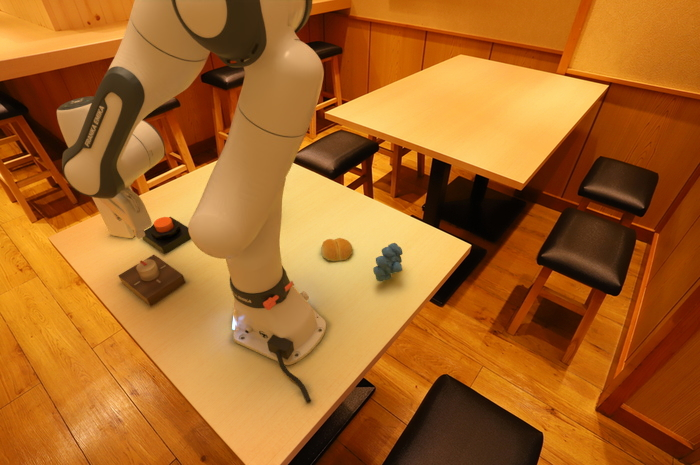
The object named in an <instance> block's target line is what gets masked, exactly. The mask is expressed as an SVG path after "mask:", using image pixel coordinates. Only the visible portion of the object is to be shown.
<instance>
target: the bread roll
mask: <svg viewBox="0 0 700 465" xmlns="http://www.w3.org/2000/svg"><path fill="white" fill-rule="evenodd" d="M352 245H353V244H352V243H351V242H350V241H349V240H348V239H345V238H341V237H338V238H337V237H336V238H334V239H333V238H328V239H325V240H324V241H323V242H322V244H321V248H320V251H321V257H322V258H323V259H325V260H328V261H330V262H336V261H346V260H348V259H349V258H350V256H351V255H352V253H353V246H352Z"/></svg>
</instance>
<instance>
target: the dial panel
mask: <svg viewBox="0 0 700 465" xmlns="http://www.w3.org/2000/svg"><path fill="white" fill-rule="evenodd" d="M148 259H151V260H154V261H155V263H156V265H157V267H158V270H159V272H160V274H159V276H158V277H157V278H156V279H154V280H152V281H143V280H142V279H141V277H140V275H139V273H138V271H137V269H136V267H137V265H138V264H139V263H140V262H138V263H137V264H135V265H133V266H132V267H129V268H128V269H126V270H125V271H123V272H122V273H120V274H118V275H117V277H118V278H119V280H120V282H121V283H122V285H124V286H125V287H126V288H128V290H129V291H130V292H132V293H133V294H134V295H136V296H137V297H138V298H139V299H140V300H142V301H143V302H144V303H146V304H147V305H148V306H149V307H150V308H151V307H153V306H154V305H156V304H157V303H158V302H160V301H161V300H163V299H165V297H168V296H169V295H170V294H171V293H173V292H175V291H176V290H178V289H179V288H181V287H182V286H184V285H185V284H186V280H185V278H184V275H183V273H181V272H179V270H176V269H175V268H174V267H172V266H171V265H169V264H168V263H167V262H166V261H163V259H161V258H160V257H158V256H157V255H156V254H152V255H150V256H149V257H146V258H145V259H144V260H148Z"/></svg>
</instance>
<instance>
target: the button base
mask: <svg viewBox="0 0 700 465" xmlns="http://www.w3.org/2000/svg"><path fill="white" fill-rule="evenodd" d="M168 217H169V218H171V220H172V222H173V225H174V227H173V228H172V229H171V230H169V231H167V232H163V233H161V232H157V231H156V229H155V226H154V223H152V224H151V226H150V227H148V228H146V229H144V232H145V236H144V237H142V238H141V239H142V240H143V241H144V242H146V243H147V244H149V245H150V246H151V247H153V248H154V249H156V250H157V251H159V252H160V253H161V254H163V255H167V254H168V253H170V252H171V251H174V250H175V249H176V248H179V247H180V246H181V245H183V244H185V243H187V242H188V241H190V240H192V239H191V237H190V235H189V231H188V226H187V225H185V224H183V223H182V222H180V221H178V220H177V219H175V218H174V217H172V216H168Z"/></svg>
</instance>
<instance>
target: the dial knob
mask: <svg viewBox="0 0 700 465" xmlns="http://www.w3.org/2000/svg"><path fill="white" fill-rule="evenodd" d="M138 263H139V264H138ZM138 263H137V264H138V265H137V264H136V265H137V267H136V269H137V271H138V273H139V275H140V277H141V279H142V280H143V281H152V280H154V279H156V278H157V277H158V276H159V274H160V272H159V270H158V267H157V265H156V263H155V261H154V260H151V259H148V260H145V259H144V260H140V261H139V262H138Z"/></svg>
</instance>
